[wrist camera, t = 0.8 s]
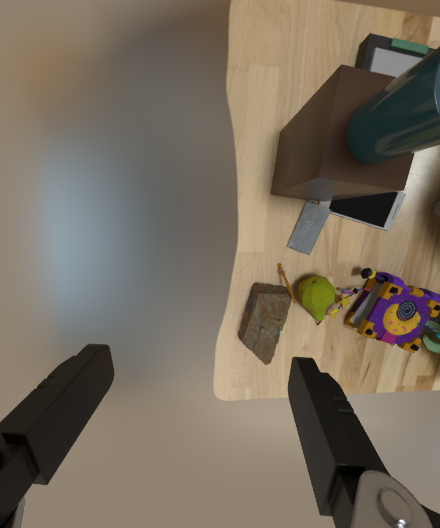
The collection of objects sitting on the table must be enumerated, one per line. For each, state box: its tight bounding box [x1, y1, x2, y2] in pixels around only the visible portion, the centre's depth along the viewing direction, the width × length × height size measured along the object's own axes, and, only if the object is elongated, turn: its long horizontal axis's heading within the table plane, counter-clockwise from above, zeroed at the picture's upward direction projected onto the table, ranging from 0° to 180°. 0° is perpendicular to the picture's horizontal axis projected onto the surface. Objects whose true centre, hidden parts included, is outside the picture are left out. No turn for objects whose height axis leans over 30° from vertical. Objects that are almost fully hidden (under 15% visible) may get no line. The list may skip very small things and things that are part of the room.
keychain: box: [278, 264, 296, 304], centre depth 37 cm, size 8×1×1 cm
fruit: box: [298, 275, 335, 325], centre depth 39 cm, size 6×6×12 cm
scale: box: [355, 33, 436, 77], centre depth 33 cm, size 14×13×3 cm
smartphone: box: [318, 191, 405, 231], centre depth 37 cm, size 7×15×1 cm, turn 74°
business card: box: [287, 200, 331, 255], centre depth 37 cm, size 9×5×1 cm, turn 161°
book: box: [330, 268, 440, 353], centre depth 37 cm, size 14×25×12 cm, turn 69°
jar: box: [346, 47, 440, 165], centre depth 17 cm, size 6×6×8 cm
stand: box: [271, 65, 414, 202], centre depth 28 cm, size 10×10×15 cm
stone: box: [238, 283, 291, 365], centre depth 38 cm, size 14×7×5 cm, turn 165°
